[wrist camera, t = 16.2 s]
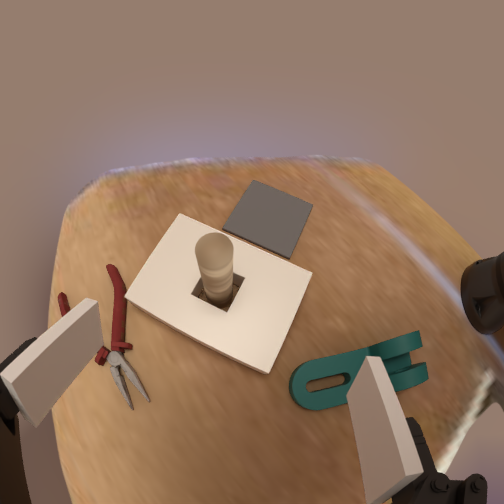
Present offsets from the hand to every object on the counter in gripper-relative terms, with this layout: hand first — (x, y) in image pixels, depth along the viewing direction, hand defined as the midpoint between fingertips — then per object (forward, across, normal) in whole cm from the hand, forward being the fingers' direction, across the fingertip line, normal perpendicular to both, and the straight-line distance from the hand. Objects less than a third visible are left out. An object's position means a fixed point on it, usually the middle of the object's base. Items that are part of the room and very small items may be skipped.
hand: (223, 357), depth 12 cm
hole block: (+24, -4, -10) cm, 26 cm away
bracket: (+18, +16, -16) cm, 29 cm away
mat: (+34, +1, 0) cm, 34 cm away
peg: (+24, -4, -10) cm, 26 cm away
